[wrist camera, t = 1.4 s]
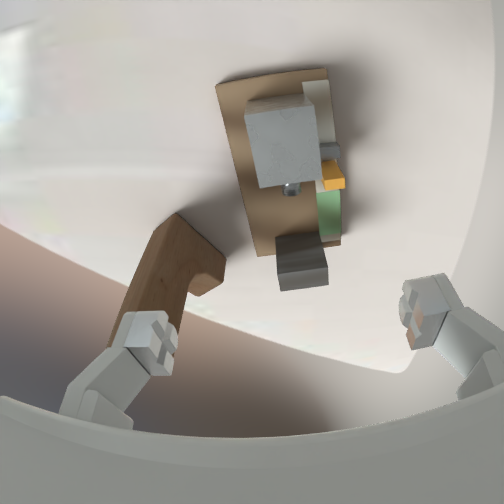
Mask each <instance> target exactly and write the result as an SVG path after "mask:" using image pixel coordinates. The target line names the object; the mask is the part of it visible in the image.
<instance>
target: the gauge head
mask: <svg viewBox="0 0 504 504" xmlns="http://www.w3.org/2000/svg"><path fill="white" fill-rule="evenodd" d="M244 119H245V123H246V128H247V132H248V137H249V141H250V146H251V150H252V155H253V160H254V164H255V169H256V173H257V178H258V183H259V187H260V188H265V187H271V186H278V185H281V191H282V194H283V195H284V196H289V197H291V196H296V195H298V194H300V193H301V184H300V182H306V181H313V180H321V179H323V178H322V168H321V160H326V159H334V158H341V157H340V146H339V144H338V143H337V142H329V143H320V144H319V140H318V132H317V124H316V116H315V109H314V105H313V104H312V103H311V101H310V100H309V99H308V98H307V97H306V96H305V95H304V94H303V93H296V94H288V95H281V96H274V97H268V98H262V99H256V100H250V101H247V103H246V108H245V113H244Z"/></svg>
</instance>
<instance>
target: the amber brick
mask: <svg viewBox="0 0 504 504" xmlns="http://www.w3.org/2000/svg"><path fill="white" fill-rule="evenodd" d="M321 168H322V178H323V179H321V181H322V183H323V186H324V188H325V191H326V190H334V189H342V188H345V177H344V176H343V174H342V172H341V170H340V169H339V167H338V165H337V163H336V162H335V160H333V161H325V162H321Z"/></svg>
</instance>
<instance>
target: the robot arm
mask: <svg viewBox="0 0 504 504" xmlns="http://www.w3.org/2000/svg"><path fill="white" fill-rule="evenodd" d="M402 290H403V292H404V295H403V296H402V297H401V298H400V301H399V315H400V319H401V322H402V325H404V326H405V327H406V328H408V330H407V333H406V336H407V339H408V342H409V345H410V348H411V350H416V349H420V348H425V347H429V346H433V348H435V350H436V351H438V352H439V353H440V354H441V355H442V356H443V357H444V358H445V359H446V360H447V361H448V362H449V363H450V364H451V365H452V366H453V367H454V368H455V369H456V370H457V371H458V372H459V373H460V374H461V375H462V376H463V377H464V378H465V380H464V381H463V383H462V384H461V385H460V387H459V388H458V389H457V391H456V393H457V396H458V400H459V401H456V402H453V403H450V404H448V405H444V406H442V407H438V408H435V409H432V410H429V411H425V412H422V413H418V414H415V415H411V416H407V417H403V418H400V419H395V420H391V421H387V422H383V423H377V424H373V425H368V426H362V427H357V428H351V429H345V430H339V431H332V432H324V433H316V434H307V435H298V436H297V435H296V436H283V437H267V438H266V437H264V438H209V437H189V436H177V435H166V434H157V433H149V432H142V431H135V430H132V427H133V420H132V419H131V418H130V417H129V416H127V415H126V414H124V413H123V412H124V411H125V409H126V408H127V407H128V406H129V404H130V403H131V401H132V400H133V399H134V398H135V396H136V395H137V394H138V393H139V391H140V390H141V389H142V387H143V386H144V385H145V384H146V382H147V381H148V380H149V378H150V377H151V376H167V375H168V376H169V375H171V373H172V368H173V364H174V359H173V357H172V354H173V353H174V352H175V351H176V350H177V345H178V335H177V331H176V329H175V327H174V325H172V324H171V323H169V322H168V318H169V317H168V315H167V314H166V312H165V311H138V312H126V313H125V314H124V315H123V318H122V320H121V323H120V325H119V328H118V330H117V333H116V336H115V338H114V341H113V344H112V346H111V347H108V348H107V349H106V350H105V351H104V352H103V353H101V354H100V355H99V356H98V357H97V358H96V359H95V360H94V361H93V362H92V363H91V364H90V365H89V366H88V367H87V368H86V369H85V370H84V371H83V372H82V373H81V374H79V375H78V377H76V378H75V379H74V380H73V381H72V382H71V383H70V384H69V385H68V388H67V390H66V393H65V396H64V399H63V402H62V405H61V408H60V411H59V414H56V413H53V412H50V411H46V410H43V409H40V408H37V407H34V406H31V405H28V404H25V403H22V402H19V401H17V400H14V399H12V398H9V397H6V396H0V504H504V331H502V330H501V329H500V328H498V327H497V326H495V325H494V324H493V323H491V322H490V321H488V320H487V319H485V318H484V317H482V316H481V315H479V314H478V313H476V312H475V311H473V310H472V309H470V308H469V307H464V306H463V304H462V302H461V300H460V298H459V297H458V295H457V293H456V291H455V289H454V288H453V286H452V284H451V282H450V281H449V279H448V277H447V276H446V275H445V274H444V273H442V274H437V275H432V276H426V277H421V278H416V279H411V280H405V282H404V283H403V287H402Z"/></svg>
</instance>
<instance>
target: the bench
mask: <svg viewBox="0 0 504 504" xmlns="http://www.w3.org/2000/svg"><path fill="white" fill-rule="evenodd" d="M215 89H216V93H217V97H218V101H219V105H220V109H221V113H222V117H223V121H224V125H225V129H226V133H227V137H228V141H229V145H230V149H231V153H232V157H233V161H234V165H235V169H236V173H237V177H238V181H239V185H240V189H241V193H242V197H243V201H244V205H245V209H246V213H247V217H248V221H249V225H250V229H251V233H252V237H253V242H254V246H255V250H256V254H257V257H261V256H268V255H275V254H276V260H277V275H278V280H279V285H280V291H288V290H296V289H303V288H310V287H317V286H324V285H329V282H328V265H327V261H326V257H325V253H324V249H323V248H325V247H332V246H339V245H341V207H340V190H339V189H334V190H326V191H325V188H324V186H323V183H322V181H321V180H313V181H306V182H300V184H301V193H300V194H298V195H296V196H291V197H289V196H284V195H283V194H282V191H281V185H278V186H271V187H265V188H260V187H259V183H258V178H257V173H256V169H255V164H254V160H253V155H252V150H251V146H250V141H249V137H248V132H247V128H246V123H245V119H244V113H245V108H246V103H247V101H250V100H256V99H262V98H268V97H274V96H281V95H288V94H296V93H303V94H304V95H305V96H306V97H307V98H308V99H309V100H310V101H311V103H312V104H313V105H314V109H315V116H316V124H317V132H318V140H319V144H320V143H329V142H336V139H335V128H334V119H333V110H332V101H331V93H330V86H329V80H328V75H327V69H325V68H317V69H306V70H297V71H289V72H281V73H274V74H268V75H262V76H256V77H250V78H245V79H240V80H235V81H230V82H225V83H221V84H217V85H216V86H215ZM333 160H335V162H336V163H337V158H334V159H326V160H321V162H325V161H333ZM337 165H338V163H337Z"/></svg>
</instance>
